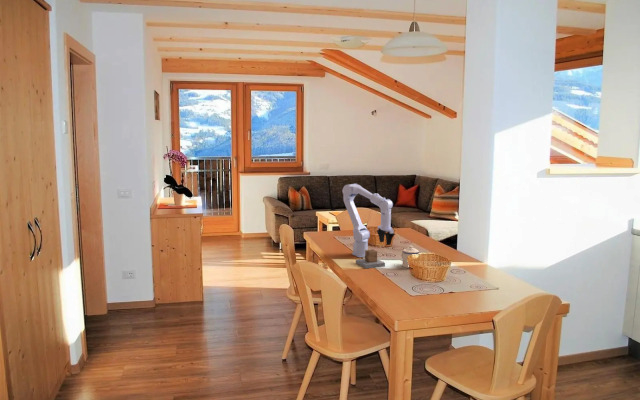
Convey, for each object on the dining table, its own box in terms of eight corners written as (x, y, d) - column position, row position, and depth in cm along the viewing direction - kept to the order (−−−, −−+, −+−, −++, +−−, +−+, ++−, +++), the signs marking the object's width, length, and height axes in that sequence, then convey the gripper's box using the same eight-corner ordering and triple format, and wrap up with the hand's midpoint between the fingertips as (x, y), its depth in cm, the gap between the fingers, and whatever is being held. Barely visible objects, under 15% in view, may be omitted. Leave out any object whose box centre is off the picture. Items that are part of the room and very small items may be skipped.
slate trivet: (355, 263, 281) (355, 259, 281) (374, 261, 286) (374, 257, 285) (365, 268, 270) (365, 265, 270) (384, 266, 275) (384, 262, 274)
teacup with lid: (422, 267, 273) (422, 246, 271) (409, 269, 269) (409, 248, 267) (408, 262, 283) (408, 242, 282) (395, 264, 279) (396, 244, 277)
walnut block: (364, 260, 279) (365, 250, 278) (372, 259, 281) (372, 249, 280) (369, 262, 274) (369, 252, 274) (377, 261, 276) (377, 251, 275)
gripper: (398, 222, 280) (397, 245, 282) (385, 217, 293) (384, 240, 295) (387, 223, 277) (387, 246, 279) (374, 218, 290) (374, 241, 292)
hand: (385, 243), depth 287 cm, fingers open, 7 cm apart
